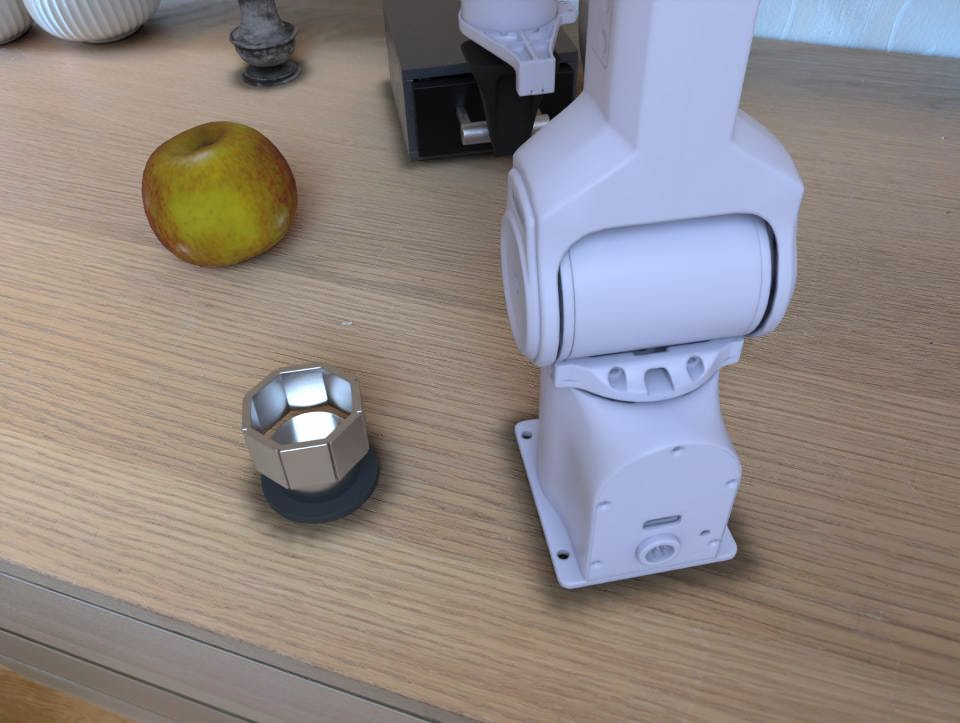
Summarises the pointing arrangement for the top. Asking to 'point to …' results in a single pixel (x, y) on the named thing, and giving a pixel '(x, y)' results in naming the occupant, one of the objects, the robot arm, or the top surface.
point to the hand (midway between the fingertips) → (509, 152)
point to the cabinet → (435, 54)
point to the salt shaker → (265, 44)
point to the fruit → (218, 194)
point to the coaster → (328, 509)
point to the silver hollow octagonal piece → (307, 431)
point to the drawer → (470, 112)
